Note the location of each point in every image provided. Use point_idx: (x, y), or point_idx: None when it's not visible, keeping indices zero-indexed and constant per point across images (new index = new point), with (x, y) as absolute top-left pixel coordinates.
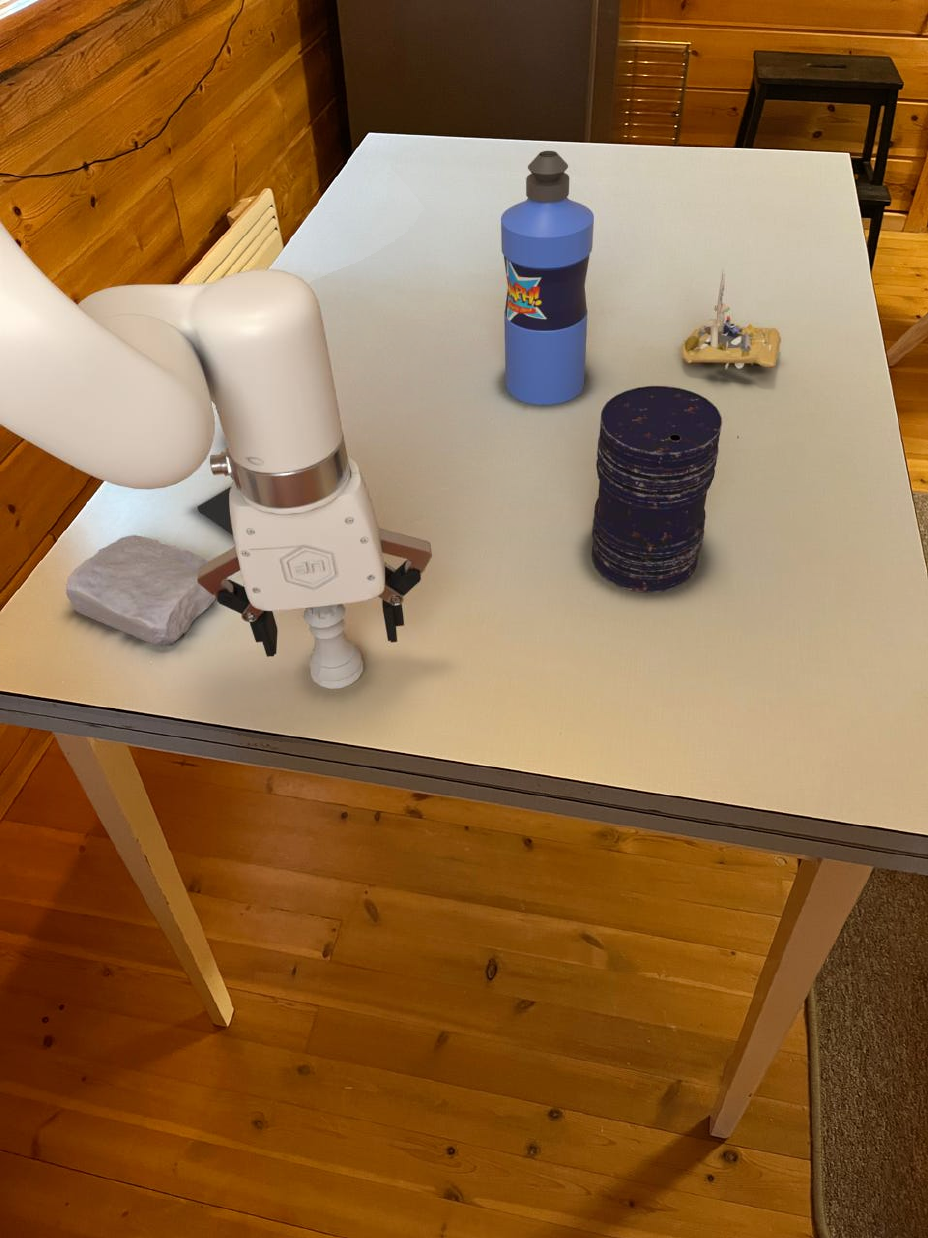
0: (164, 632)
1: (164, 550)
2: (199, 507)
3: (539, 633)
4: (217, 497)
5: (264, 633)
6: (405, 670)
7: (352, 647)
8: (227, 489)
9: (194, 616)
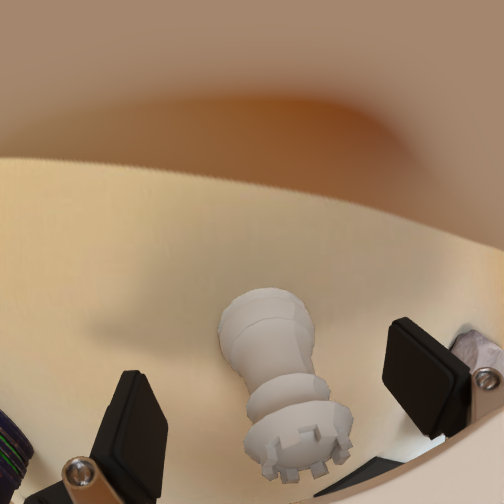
0: (477, 342)
1: None
2: None
3: (18, 369)
4: None
5: (441, 354)
6: (149, 330)
7: (235, 365)
8: None
9: None
